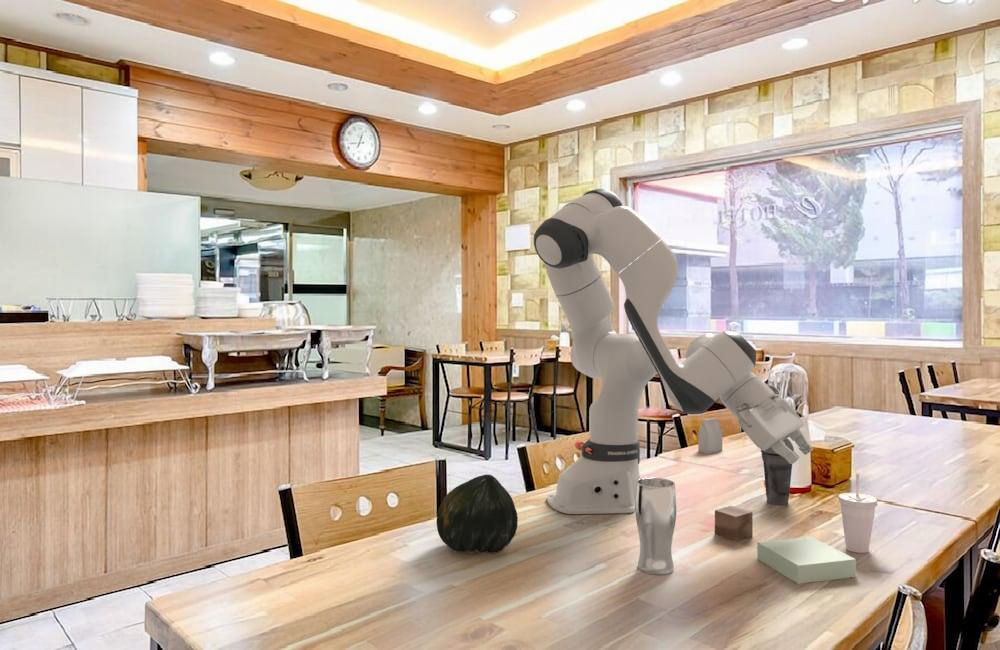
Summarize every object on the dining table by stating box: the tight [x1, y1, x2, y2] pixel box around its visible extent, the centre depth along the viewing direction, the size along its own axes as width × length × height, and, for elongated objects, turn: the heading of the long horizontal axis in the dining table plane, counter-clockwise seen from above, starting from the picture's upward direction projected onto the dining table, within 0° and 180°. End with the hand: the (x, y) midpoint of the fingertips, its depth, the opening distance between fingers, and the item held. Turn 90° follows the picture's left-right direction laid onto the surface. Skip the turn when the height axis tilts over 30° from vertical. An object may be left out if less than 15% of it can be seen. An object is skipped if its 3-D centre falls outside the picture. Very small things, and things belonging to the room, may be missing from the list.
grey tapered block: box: [697, 417, 723, 454], centre depth 204 cm, size 4×7×10 cm, turn 124°
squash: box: [436, 474, 519, 554], centre depth 124 cm, size 14×15×15 cm
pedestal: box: [756, 536, 857, 584], centre depth 114 cm, size 11×11×3 cm
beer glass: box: [634, 477, 678, 576], centre depth 114 cm, size 7×7×15 cm
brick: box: [714, 505, 754, 543], centre depth 130 cm, size 5×5×5 cm
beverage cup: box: [760, 437, 795, 506], centre depth 151 cm, size 7×7×20 cm
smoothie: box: [837, 472, 878, 554], centre depth 122 cm, size 6×6×14 cm
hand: (803, 456), depth 127 cm, fingers open, 8 cm apart
